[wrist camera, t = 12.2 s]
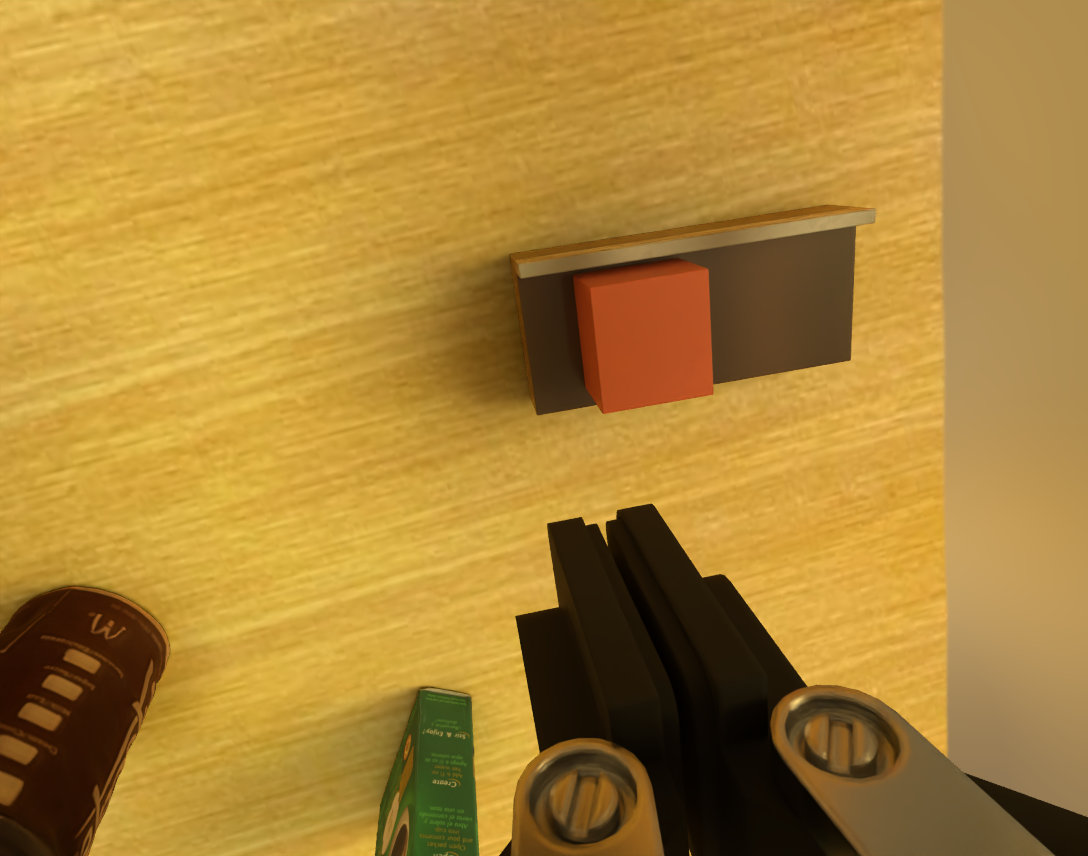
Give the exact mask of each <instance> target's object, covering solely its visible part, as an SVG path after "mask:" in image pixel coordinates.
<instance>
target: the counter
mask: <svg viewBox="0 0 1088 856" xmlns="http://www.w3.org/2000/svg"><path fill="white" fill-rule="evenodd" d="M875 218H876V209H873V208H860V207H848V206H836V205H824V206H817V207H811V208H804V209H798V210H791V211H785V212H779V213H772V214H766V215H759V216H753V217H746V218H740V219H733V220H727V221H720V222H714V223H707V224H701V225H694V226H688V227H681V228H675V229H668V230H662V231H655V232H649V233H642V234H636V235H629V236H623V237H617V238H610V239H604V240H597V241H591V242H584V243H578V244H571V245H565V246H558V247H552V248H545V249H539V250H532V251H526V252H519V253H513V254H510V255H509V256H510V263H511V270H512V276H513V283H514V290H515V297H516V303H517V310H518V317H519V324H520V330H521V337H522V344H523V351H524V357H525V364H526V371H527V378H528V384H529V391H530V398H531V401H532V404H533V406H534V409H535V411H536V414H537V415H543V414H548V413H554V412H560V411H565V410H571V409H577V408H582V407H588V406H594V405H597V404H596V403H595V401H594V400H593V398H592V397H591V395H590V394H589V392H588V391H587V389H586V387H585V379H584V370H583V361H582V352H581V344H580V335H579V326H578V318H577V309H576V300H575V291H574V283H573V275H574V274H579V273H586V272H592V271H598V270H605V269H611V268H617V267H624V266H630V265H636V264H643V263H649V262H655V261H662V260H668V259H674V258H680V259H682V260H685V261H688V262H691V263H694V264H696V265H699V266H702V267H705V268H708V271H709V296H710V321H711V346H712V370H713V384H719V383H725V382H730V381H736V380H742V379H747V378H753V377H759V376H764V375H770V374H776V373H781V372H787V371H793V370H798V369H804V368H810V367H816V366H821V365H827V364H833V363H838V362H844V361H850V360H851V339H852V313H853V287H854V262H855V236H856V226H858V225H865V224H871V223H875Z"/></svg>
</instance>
